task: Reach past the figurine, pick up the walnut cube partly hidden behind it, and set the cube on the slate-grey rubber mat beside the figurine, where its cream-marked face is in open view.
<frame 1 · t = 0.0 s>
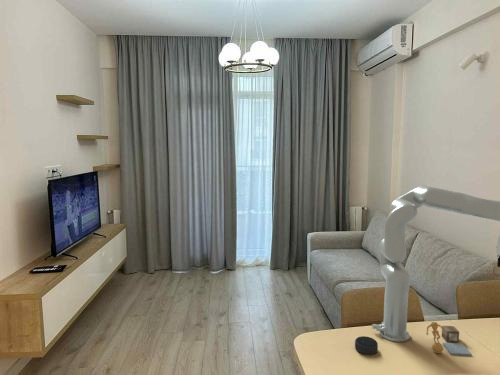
marked cube: (449, 339, 161), on the table
figurine: (435, 351, 151), on the table
rubber mat: (456, 350, 152), on the table
smart speaker: (366, 350, 152), on the table
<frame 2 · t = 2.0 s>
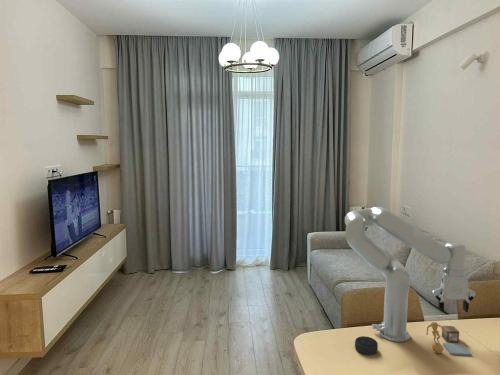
hand: (453, 310, 159), 13 cm above the table, tool pointing down, fingers open, 9 cm apart
nothing on the table moved.
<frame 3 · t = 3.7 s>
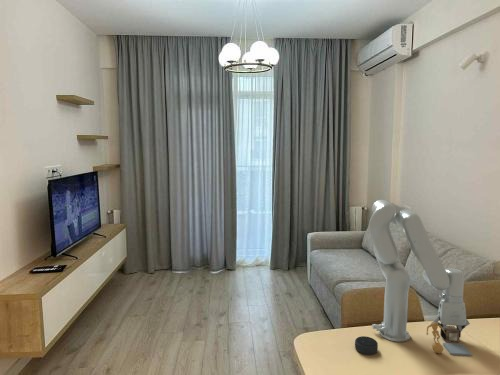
hand: (450, 337, 161), 1 cm above the table, tool pointing down, fingers closed on marked cube, 5 cm apart
marked cube: (450, 339, 161), on the table, touching gripper
everything else where it was.
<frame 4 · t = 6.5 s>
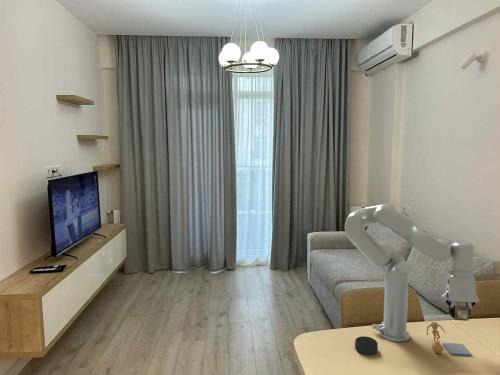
hand: (459, 315, 151), 15 cm above the table, tool pointing down, fingers closed on marked cube, 5 cm apart
marked cube: (459, 317, 151), point 14 cm above the table, touching gripper
everything else where it was.
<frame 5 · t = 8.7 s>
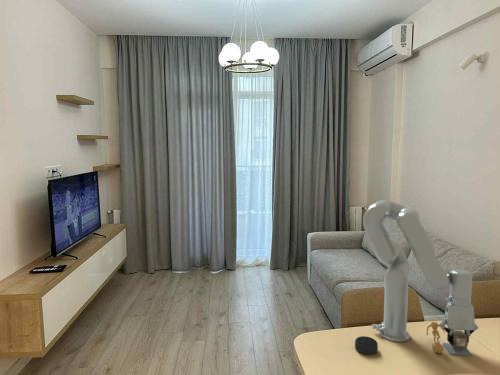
hand: (457, 343, 152), 3 cm above the table, tool pointing down, fingers closed on marked cube, 5 cm apart
marked cube: (457, 344, 152), point 2 cm above the table, touching gripper
figurine: (435, 351, 151), on the table, touching gripper
everything else where it was.
when the fingers open (3 cm above the table, at t = 9.3 s): marked cube drops 1 cm, resting on rubber mat.
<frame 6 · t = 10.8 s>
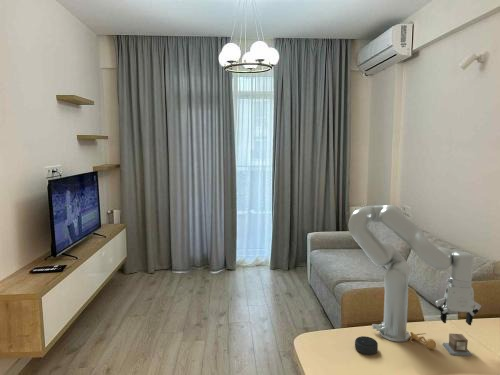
hand: (455, 322, 151), 11 cm above the table, tool pointing down, fingers open, 9 cm apart
marked cube: (457, 348, 152), point 1 cm above the table, touching rubber mat
figurine: (435, 349, 151), point 1 cm above the table
everything else where it was.
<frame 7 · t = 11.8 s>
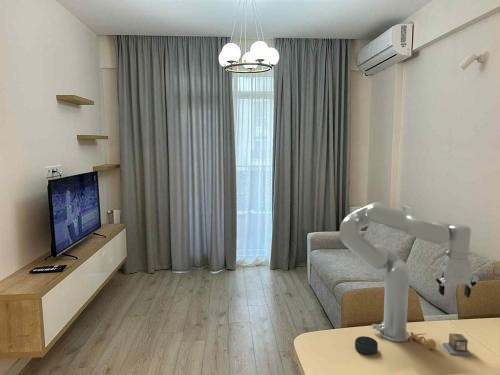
hand: (454, 295, 153), 22 cm above the table, tool pointing down, fingers open, 9 cm apart
nothing on the table moved.
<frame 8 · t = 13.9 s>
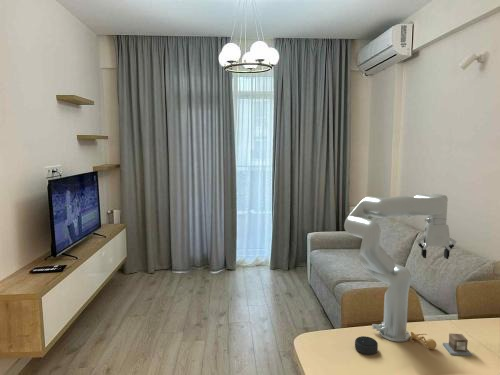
hand: (435, 257, 171), 32 cm above the table, tool pointing down, fingers open, 9 cm apart
nothing on the table moved.
at the end: marked cube 0.3 cm off-centre on the rubber mat, point 0.8 cm above the rubber mat's base; marked cube tilted 0°; figurine moved 0.7 cm from its start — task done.
